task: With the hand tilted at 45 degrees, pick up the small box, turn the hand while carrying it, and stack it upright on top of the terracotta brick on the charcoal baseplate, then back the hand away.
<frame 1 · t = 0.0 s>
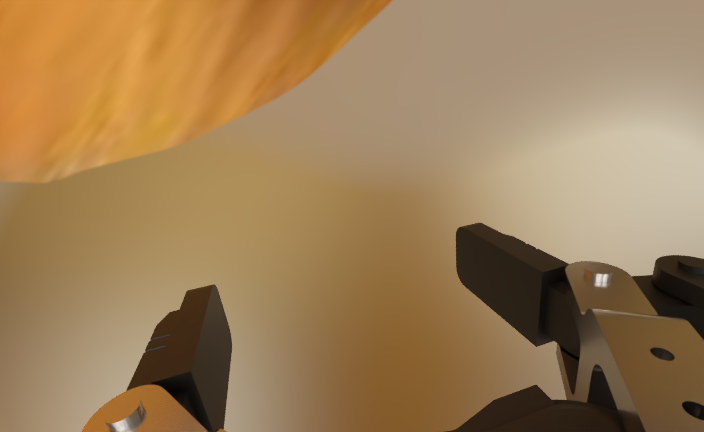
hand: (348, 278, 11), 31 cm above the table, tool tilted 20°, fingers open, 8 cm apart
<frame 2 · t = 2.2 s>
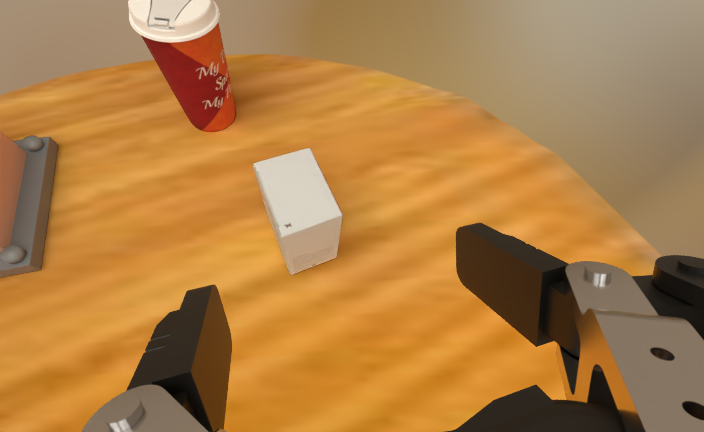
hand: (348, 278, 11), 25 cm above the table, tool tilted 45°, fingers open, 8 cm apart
coffee cup: (213, 115, 44), on the table
small box: (301, 237, 38), on the table
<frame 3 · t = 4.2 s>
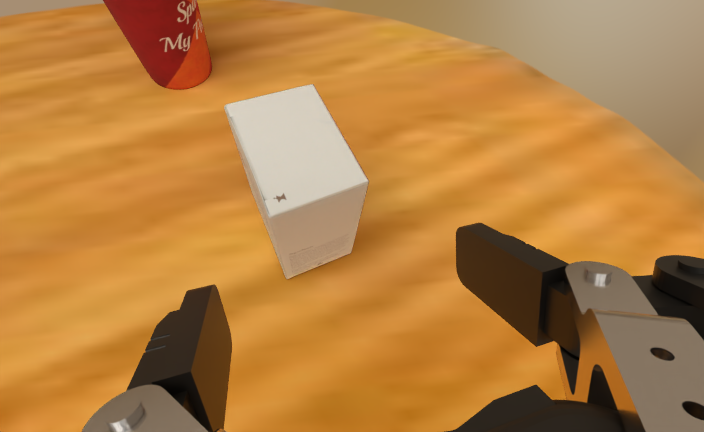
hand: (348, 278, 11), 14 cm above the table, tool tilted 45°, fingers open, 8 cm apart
coffee cup: (182, 69, 34), on the table
small box: (301, 225, 27), on the table
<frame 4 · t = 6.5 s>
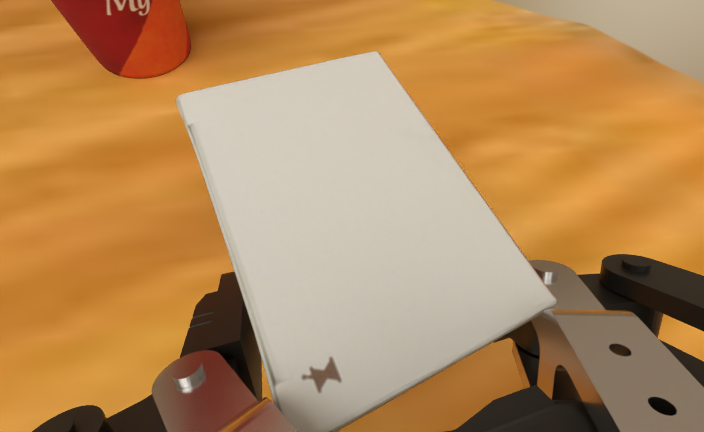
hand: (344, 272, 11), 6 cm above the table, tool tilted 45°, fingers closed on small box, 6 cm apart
coffee cup: (147, 50, 23), on the table
small box: (329, 300, 16), on the table, touching gripper
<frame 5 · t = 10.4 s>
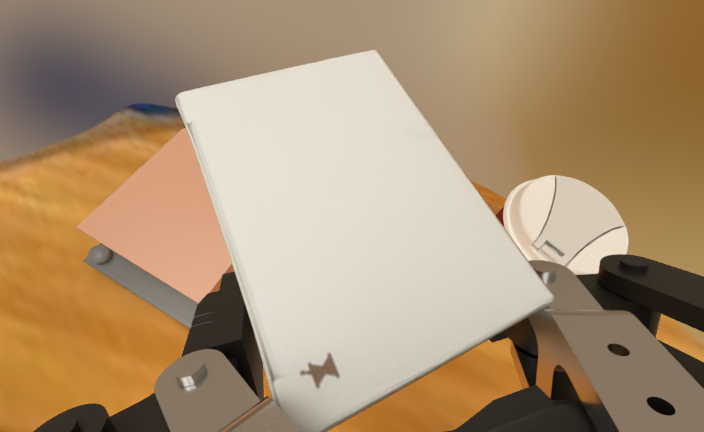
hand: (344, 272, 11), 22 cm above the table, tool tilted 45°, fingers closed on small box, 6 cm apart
coffee cup: (475, 281, 35), on the table
small box: (329, 299, 16), point 16 cm above the table, touching gripper
tower base: (214, 239, 34), on the table
when the fingers open (14 cm above the table, at t = 14.0 s): small box drops 1 cm, resting on tower base.
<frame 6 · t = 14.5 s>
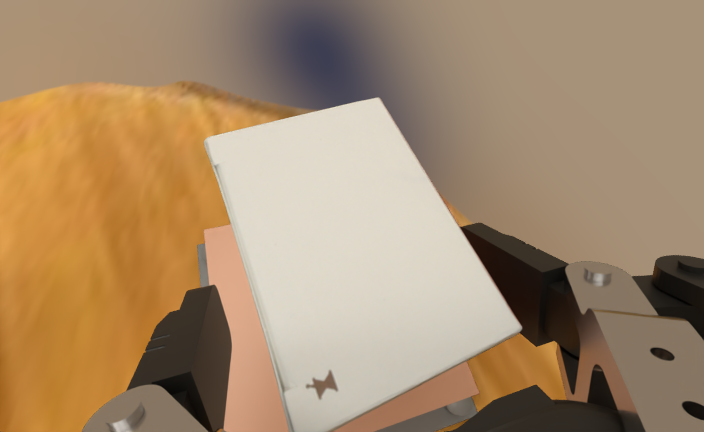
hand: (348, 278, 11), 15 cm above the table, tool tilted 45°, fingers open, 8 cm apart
small box: (331, 310, 18), point 7 cm above the table, touching tower base
tower base: (327, 327, 24), on the table
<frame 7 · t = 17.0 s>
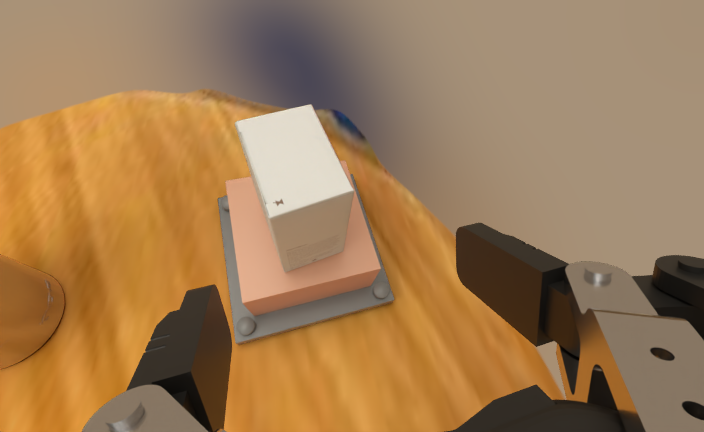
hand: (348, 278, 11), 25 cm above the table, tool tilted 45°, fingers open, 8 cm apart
small box: (299, 225, 31), point 7 cm above the table, touching tower base
tower base: (302, 251, 37), on the table
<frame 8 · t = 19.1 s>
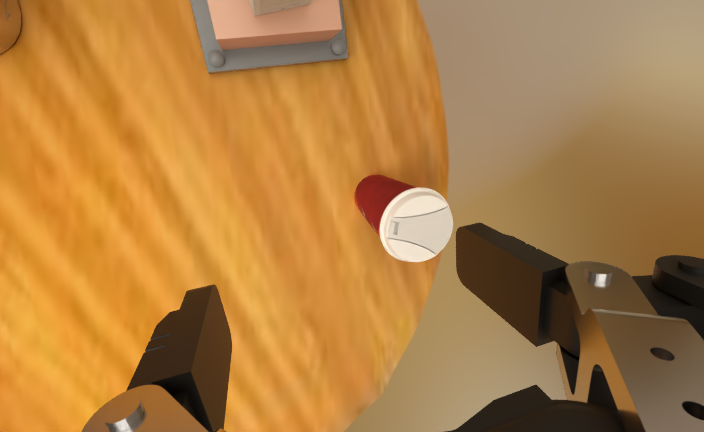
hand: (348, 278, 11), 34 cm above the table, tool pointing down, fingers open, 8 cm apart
coffee cup: (374, 194, 47), on the table
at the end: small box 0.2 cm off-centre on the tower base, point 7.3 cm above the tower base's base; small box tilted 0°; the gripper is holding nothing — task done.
